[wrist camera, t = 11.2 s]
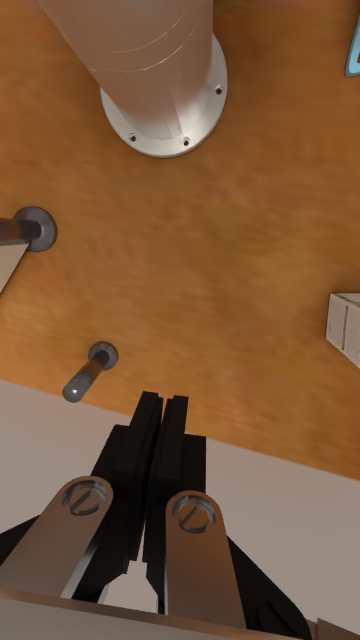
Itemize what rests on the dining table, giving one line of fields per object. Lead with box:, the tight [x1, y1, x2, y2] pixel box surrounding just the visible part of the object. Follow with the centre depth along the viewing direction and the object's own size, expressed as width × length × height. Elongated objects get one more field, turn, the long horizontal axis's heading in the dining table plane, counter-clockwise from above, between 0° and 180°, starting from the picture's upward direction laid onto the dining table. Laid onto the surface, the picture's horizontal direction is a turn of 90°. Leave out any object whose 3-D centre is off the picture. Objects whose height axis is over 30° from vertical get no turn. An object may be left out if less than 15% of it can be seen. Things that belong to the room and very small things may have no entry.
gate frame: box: [0, 207, 118, 403], centre depth 34 cm, size 21×16×12 cm
